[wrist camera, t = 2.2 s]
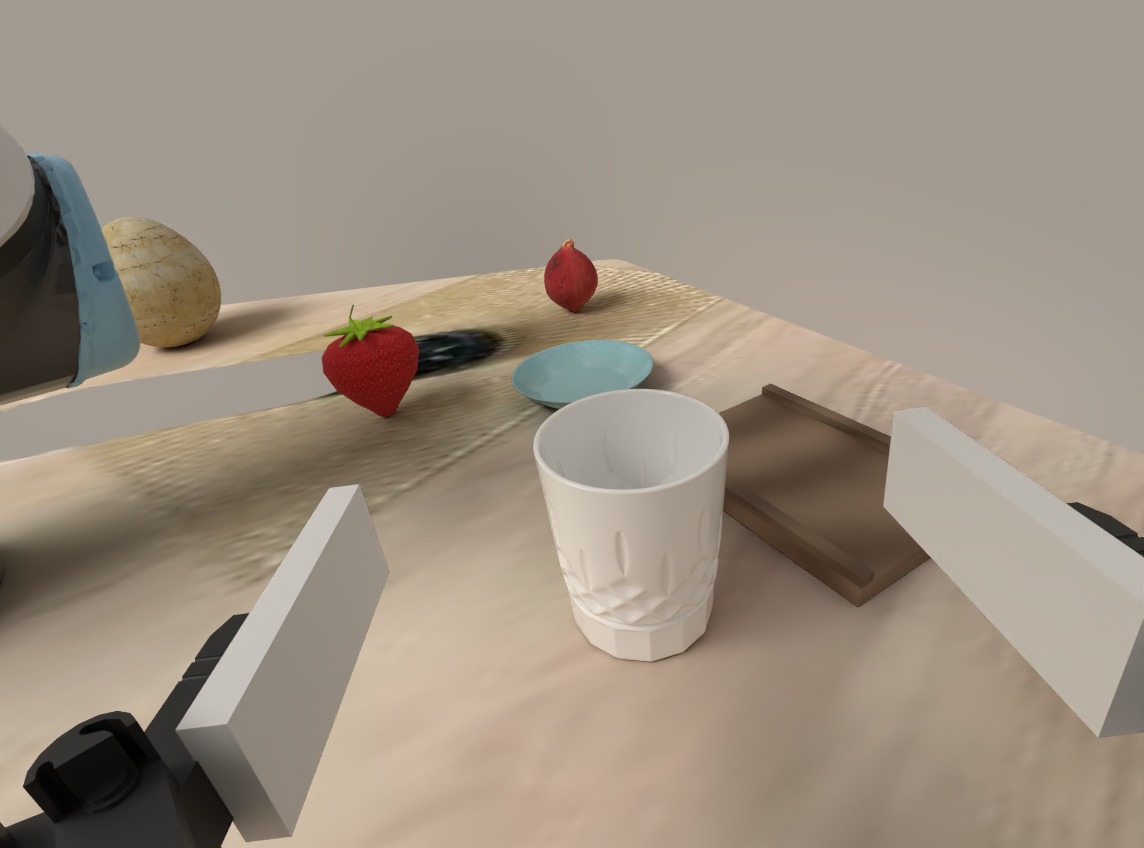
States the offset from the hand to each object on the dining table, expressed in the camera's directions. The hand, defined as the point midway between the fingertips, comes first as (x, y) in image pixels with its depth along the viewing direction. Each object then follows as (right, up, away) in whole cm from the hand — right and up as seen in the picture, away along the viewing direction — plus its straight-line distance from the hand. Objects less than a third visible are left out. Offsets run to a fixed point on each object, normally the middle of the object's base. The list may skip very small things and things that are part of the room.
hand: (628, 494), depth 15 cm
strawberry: (-17, +2, +35) cm, 39 cm away
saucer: (0, +4, +35) cm, 36 cm away
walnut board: (+13, -2, +21) cm, 25 cm away
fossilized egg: (-49, +12, +58) cm, 77 cm away
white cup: (+2, -7, +14) cm, 16 cm away
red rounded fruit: (-1, +14, +52) cm, 54 cm away
